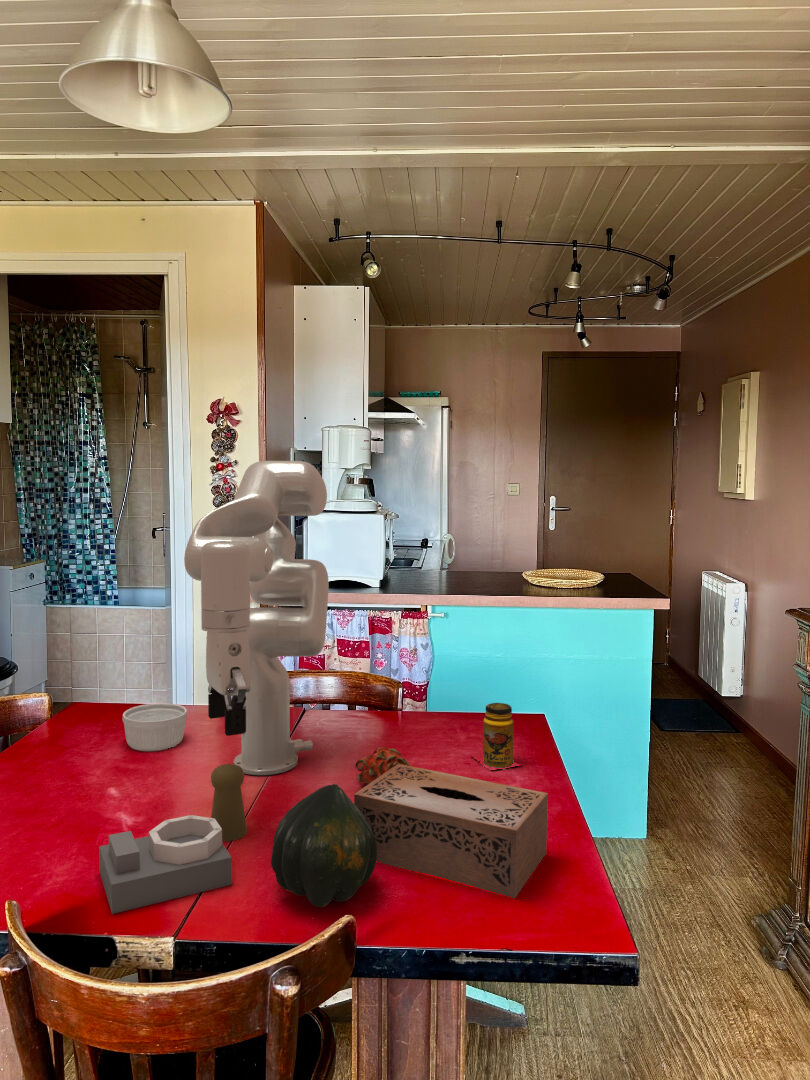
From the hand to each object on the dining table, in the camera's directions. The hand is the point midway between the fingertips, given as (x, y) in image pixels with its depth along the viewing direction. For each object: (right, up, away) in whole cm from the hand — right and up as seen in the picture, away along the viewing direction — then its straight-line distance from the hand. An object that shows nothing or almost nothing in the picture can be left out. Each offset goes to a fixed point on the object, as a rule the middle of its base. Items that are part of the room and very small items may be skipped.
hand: (226, 725), depth 124 cm
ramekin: (-25, -15, +44) cm, 52 cm away
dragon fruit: (+24, -17, +19) cm, 35 cm away
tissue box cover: (+35, -19, -5) cm, 41 cm away
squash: (+17, -20, -15) cm, 30 cm away
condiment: (+47, -16, +34) cm, 60 cm away
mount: (-6, -19, -13) cm, 24 cm away
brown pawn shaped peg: (0, -18, +2) cm, 18 cm away
